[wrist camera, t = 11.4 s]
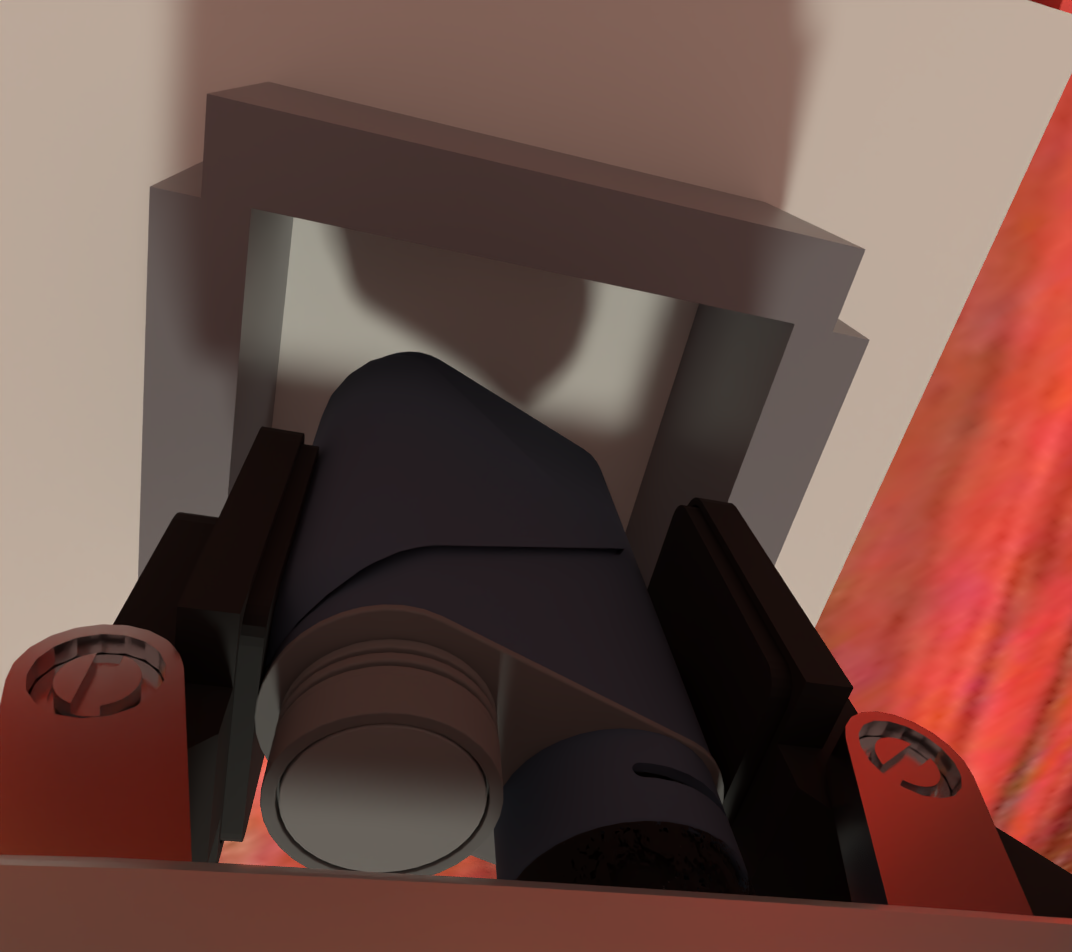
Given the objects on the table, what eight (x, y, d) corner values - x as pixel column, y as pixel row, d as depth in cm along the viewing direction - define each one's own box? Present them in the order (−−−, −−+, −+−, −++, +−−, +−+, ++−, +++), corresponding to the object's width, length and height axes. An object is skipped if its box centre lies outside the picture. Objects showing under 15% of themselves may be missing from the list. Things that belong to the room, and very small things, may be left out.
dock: (731, 752, 23) (802, 922, 18) (13, 680, 19) (-114, 869, 15) (1057, 22, 15) (1313, 13, 11) (-37, -318, 12) (-330, -544, 7)
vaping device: (548, 572, 16) (773, 1643, 5) (299, 434, 14) (-145, 1641, 3) (633, 470, 15) (1105, 1495, 4) (379, 310, 13) (127, 1381, 3)
